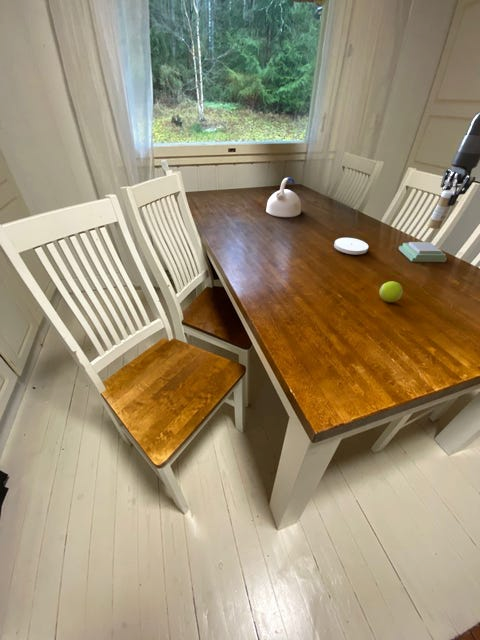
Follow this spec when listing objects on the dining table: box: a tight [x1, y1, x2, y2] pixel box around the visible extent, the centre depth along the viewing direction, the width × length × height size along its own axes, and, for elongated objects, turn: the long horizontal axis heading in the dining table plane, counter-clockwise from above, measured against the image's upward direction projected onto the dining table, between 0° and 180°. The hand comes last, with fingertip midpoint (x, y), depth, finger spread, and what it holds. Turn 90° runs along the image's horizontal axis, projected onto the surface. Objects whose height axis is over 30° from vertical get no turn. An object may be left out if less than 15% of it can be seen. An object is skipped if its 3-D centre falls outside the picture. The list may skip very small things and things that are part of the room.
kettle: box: [265, 177, 302, 218], centre depth 153 cm, size 20×21×18 cm
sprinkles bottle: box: [426, 189, 453, 230], centre depth 104 cm, size 5×5×14 cm
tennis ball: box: [378, 280, 404, 303], centre depth 88 cm, size 7×7×7 cm
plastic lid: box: [333, 237, 369, 255], centre depth 119 cm, size 14×14×2 cm
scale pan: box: [408, 241, 443, 254], centre depth 114 cm, size 9×9×2 cm
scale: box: [398, 242, 448, 263], centre depth 115 cm, size 14×12×3 cm
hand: (445, 203), depth 103 cm, fingers closed on sprinkles bottle, 4 cm apart
